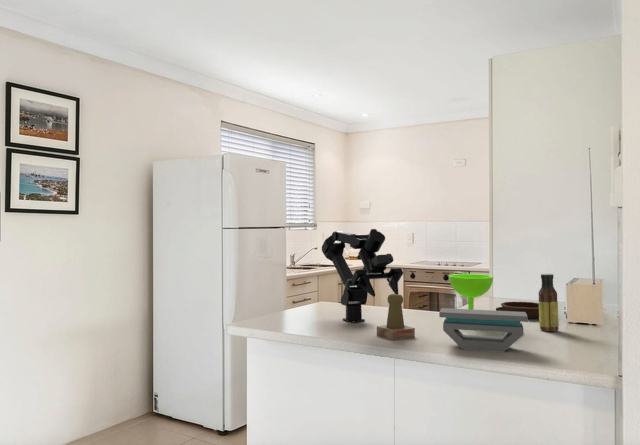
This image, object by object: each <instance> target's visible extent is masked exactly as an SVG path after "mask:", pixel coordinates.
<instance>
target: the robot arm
mask: <svg viewBox="0 0 640 445" xmlns="http://www.w3.org/2000/svg"><path fill="white" fill-rule="evenodd" d="M385 241H386V236H385V235H384V234H383V233H382V232H380V231H379V230H377V229H376V228H371V229H370V231H369V233H351V232H346V231H344V230H336V231H333V232H332V233H331V235H330V236H328V237H327V238H326V239H325V240H324V242H323V244H322V246H321V252H322V253H323V255H324V256H325V258H326V259H327V260H329V261H331V262H332V264H333V265H334V268H335V271H337V274H338V275H339V278H340V280H341V281H342V283H343V292H342V293H343V294H342V296H341V298H340V304H341V305H342V306H345V317H342V320H343V321H345V322H348V323H357V322H365V320H366V319H364V318H362V314H363V312H362V311H363V310H362V305H366V304H367V300H368V294H369V295H370V296H372V297H373V298H374V297H376V293H375V290H374V287H373V286H372V283H371V281H370V280H383V279H385V280H386V281H387V283H388V286H389V287H390V289H391V290H392V292H393V294H399V281H400V279H401V278H402V276H403V275H404V271H403V269H402V268H401V267H390V270H389V271H388V272H385V271H386V270H387V266H389V265H390V264H392V263H393V262H394V257H393V255H392V254H391V253H386V254H376V253H378V252H380V249H381V247H382V246H383V245H384V243H385ZM346 244H349V247H350V248H352V249H353V250H359V252H358V255H357V256H356V258H357V260H361V263H362V264H363V267H362V269H355V271H354V273H353V272H352V270H351V268H350V266H349V265H348V262H347V261H346V259H345V256H343V254H344V251H345V250H344V249H345V248H346Z"/></svg>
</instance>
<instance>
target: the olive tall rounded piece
mask: <svg viewBox="0 0 640 445" xmlns="http://www.w3.org/2000/svg"><path fill="white" fill-rule="evenodd" d="M387 303H388V312H387V318H386V324H385V325H386V327H387V328H391V329H402V328H404V325H405V321H404V320H405V319H404V312H403V307H402V306H403V305H402V304H403V303H404V297H403V295H402V294H399V293H398V294H395V293H391V294H389V295H388V296H387Z"/></svg>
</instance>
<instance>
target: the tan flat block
mask: <svg viewBox="0 0 640 445" xmlns="http://www.w3.org/2000/svg"><path fill="white" fill-rule="evenodd" d="M386 325H387V324H384V325H377V326H376V335H377V336H378V337H381V338H382V337H383V338H384V339H389V340H392V341H397V340H404V339H411V338H415V337H416V334H415V333H416V332H415V330H416V329H415V327H412V326H408V325H406V324H404V328H402V329H391V328H387V327H386Z"/></svg>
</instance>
